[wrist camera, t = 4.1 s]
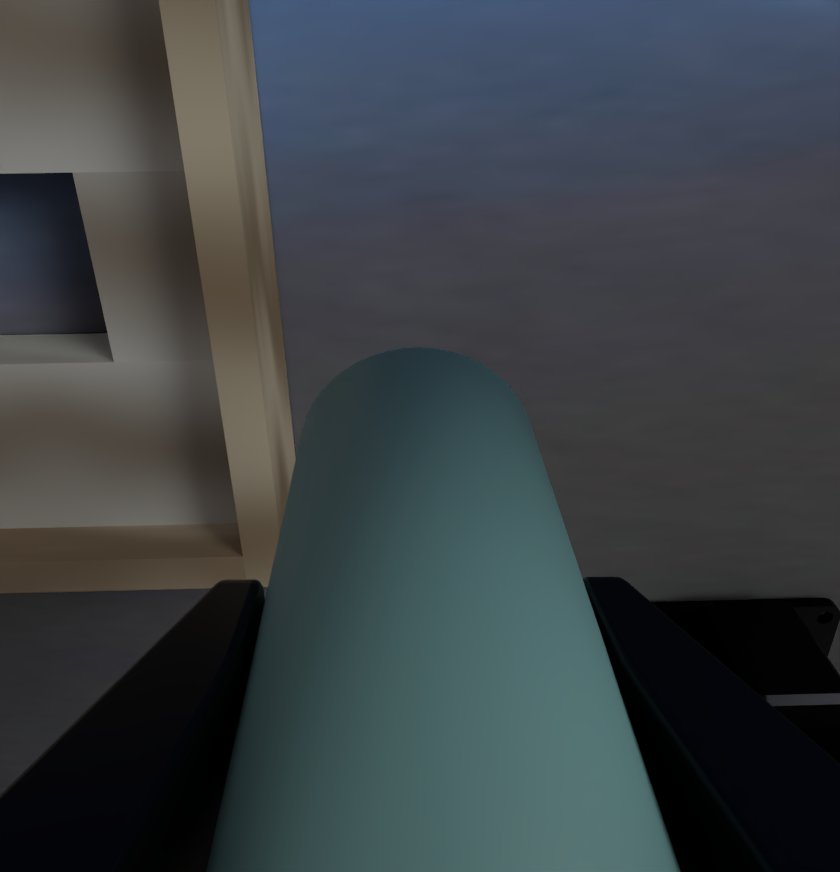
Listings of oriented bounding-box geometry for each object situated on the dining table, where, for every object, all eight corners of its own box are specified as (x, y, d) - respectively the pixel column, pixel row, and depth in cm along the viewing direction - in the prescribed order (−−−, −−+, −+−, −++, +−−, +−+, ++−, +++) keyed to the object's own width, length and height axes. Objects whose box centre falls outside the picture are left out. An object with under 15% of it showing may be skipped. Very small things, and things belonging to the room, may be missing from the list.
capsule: (523, 549, 11) (822, 1776, 3) (306, 549, 11) (99, 1824, 3) (544, 348, 10) (1178, 1745, 2) (292, 346, 10) (-157, 1834, 2)
